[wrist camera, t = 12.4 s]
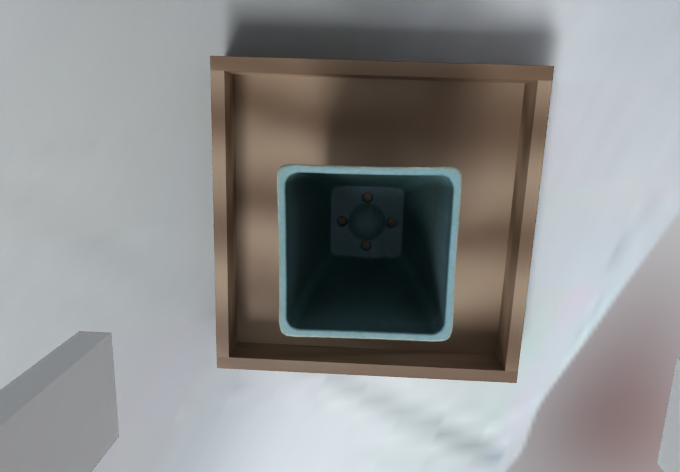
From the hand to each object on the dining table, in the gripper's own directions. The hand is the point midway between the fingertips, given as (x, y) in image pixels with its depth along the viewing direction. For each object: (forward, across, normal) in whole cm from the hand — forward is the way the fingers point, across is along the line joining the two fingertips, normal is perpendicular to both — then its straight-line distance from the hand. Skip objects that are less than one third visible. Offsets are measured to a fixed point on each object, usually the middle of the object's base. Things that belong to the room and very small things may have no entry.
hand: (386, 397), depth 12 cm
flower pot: (+22, 0, 0) cm, 22 cm away
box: (+23, 0, 0) cm, 23 cm away
